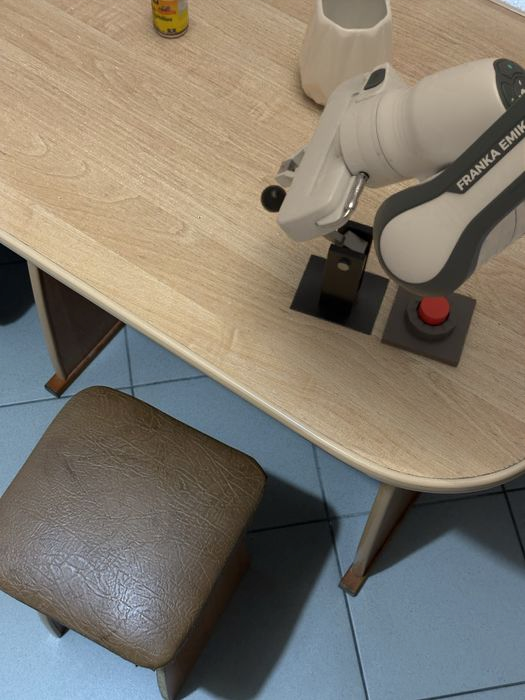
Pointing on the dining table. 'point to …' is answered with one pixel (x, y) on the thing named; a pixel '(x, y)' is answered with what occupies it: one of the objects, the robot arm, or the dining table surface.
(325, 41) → the vase
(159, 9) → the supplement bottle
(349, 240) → the switch lever
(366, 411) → the dining table surface
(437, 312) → the button
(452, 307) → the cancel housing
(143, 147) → the dining table surface
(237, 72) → the dining table surface
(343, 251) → the switch bracket
